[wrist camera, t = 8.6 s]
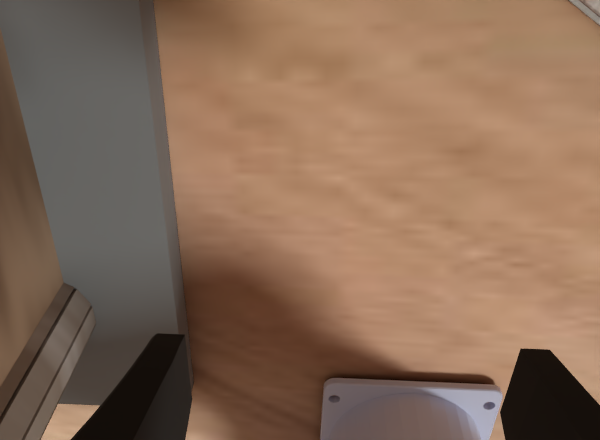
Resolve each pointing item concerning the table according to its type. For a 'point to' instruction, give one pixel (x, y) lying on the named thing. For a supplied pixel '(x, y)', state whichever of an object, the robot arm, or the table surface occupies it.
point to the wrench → (589, 8)
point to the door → (31, 287)
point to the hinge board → (102, 171)
